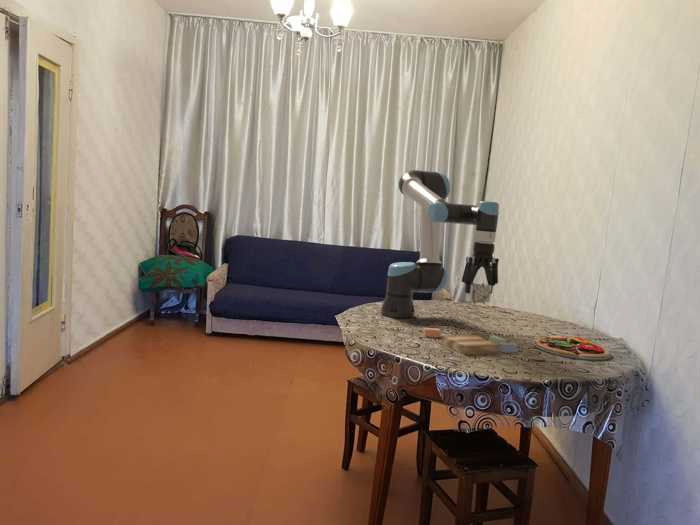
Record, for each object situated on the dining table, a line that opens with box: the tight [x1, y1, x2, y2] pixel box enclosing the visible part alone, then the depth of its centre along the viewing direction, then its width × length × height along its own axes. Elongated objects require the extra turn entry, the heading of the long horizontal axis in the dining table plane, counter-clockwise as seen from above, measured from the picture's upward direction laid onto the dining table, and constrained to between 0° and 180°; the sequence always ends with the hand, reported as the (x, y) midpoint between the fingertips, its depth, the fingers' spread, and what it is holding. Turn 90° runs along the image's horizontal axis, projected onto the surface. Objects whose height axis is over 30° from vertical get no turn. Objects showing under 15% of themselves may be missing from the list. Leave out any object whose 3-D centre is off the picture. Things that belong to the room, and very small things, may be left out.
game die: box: [471, 281, 492, 305], centre depth 219 cm, size 9×8×10 cm
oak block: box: [440, 334, 498, 355], centre depth 203 cm, size 14×14×3 cm
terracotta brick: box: [422, 327, 442, 338], centre depth 218 cm, size 6×3×3 cm, turn 94°
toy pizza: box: [532, 335, 613, 361], centre depth 215 cm, size 28×28×4 cm
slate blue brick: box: [497, 341, 518, 353], centre depth 204 cm, size 6×3×3 cm, turn 111°
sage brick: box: [487, 335, 507, 345], centre depth 213 cm, size 6×3×3 cm, turn 31°
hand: (477, 301), depth 219 cm, fingers closed on game die, 8 cm apart
